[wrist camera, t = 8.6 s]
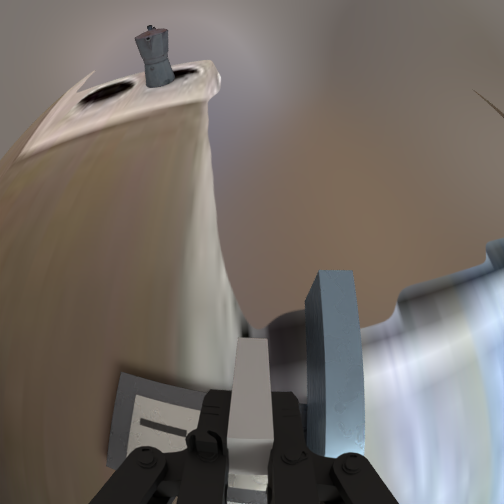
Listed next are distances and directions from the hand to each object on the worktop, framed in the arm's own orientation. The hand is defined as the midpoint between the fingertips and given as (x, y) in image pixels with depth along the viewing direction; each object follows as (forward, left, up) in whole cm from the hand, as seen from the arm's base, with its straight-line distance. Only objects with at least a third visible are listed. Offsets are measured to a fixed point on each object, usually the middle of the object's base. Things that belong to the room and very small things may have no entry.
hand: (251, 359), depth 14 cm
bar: (+7, -2, -12) cm, 14 cm away
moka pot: (-37, +72, -15) cm, 82 cm away
